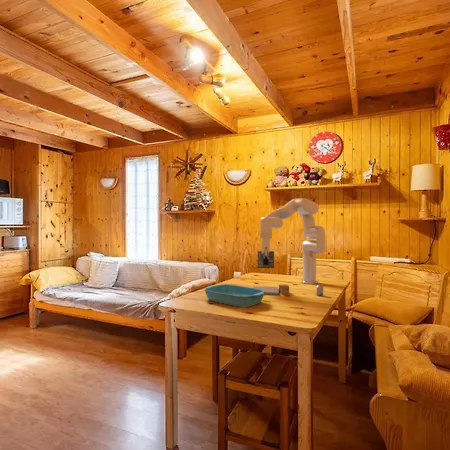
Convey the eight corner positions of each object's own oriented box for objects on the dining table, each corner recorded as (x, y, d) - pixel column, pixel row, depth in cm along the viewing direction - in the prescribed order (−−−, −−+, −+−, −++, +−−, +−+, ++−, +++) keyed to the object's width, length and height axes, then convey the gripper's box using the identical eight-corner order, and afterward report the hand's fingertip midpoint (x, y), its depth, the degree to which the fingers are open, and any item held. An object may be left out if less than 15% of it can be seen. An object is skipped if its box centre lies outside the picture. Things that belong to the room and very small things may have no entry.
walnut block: (278, 292, 200) (278, 284, 200) (286, 292, 201) (286, 284, 201) (281, 294, 195) (281, 286, 195) (289, 293, 196) (289, 285, 196)
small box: (273, 266, 204) (273, 250, 204) (274, 268, 198) (274, 251, 198) (257, 266, 205) (257, 250, 205) (257, 268, 199) (257, 251, 199)
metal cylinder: (315, 294, 194) (316, 285, 194) (322, 294, 194) (322, 285, 194) (317, 296, 190) (317, 286, 190) (323, 296, 190) (324, 286, 190)
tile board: (253, 288, 212) (253, 286, 212) (277, 289, 210) (277, 286, 210) (252, 294, 194) (252, 291, 194) (278, 295, 192) (278, 292, 192)
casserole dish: (196, 299, 180) (196, 287, 180) (221, 293, 197) (222, 282, 197) (249, 311, 156) (249, 297, 156) (272, 303, 174) (272, 290, 173)
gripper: (260, 235, 211) (260, 262, 211) (260, 237, 193) (259, 265, 193) (271, 236, 210) (271, 262, 210) (272, 237, 192) (272, 266, 193)
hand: (265, 264), depth 202 cm, fingers closed on small box, 6 cm apart
